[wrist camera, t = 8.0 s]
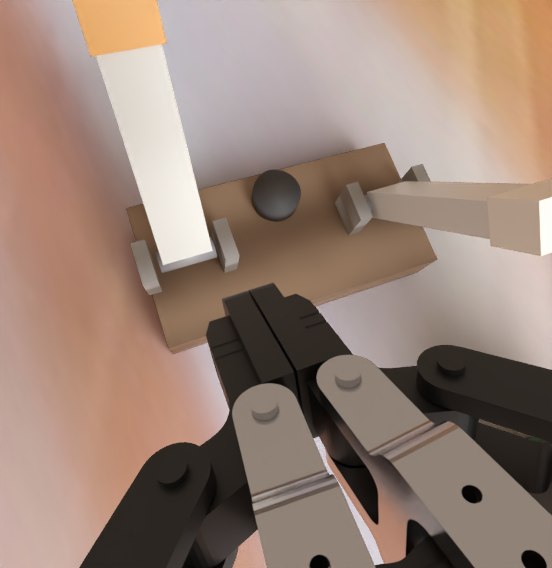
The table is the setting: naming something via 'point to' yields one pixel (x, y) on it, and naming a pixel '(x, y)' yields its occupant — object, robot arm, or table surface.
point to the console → (285, 241)
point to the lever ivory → (473, 210)
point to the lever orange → (149, 123)
